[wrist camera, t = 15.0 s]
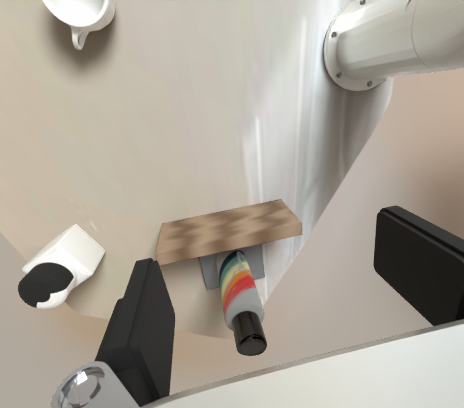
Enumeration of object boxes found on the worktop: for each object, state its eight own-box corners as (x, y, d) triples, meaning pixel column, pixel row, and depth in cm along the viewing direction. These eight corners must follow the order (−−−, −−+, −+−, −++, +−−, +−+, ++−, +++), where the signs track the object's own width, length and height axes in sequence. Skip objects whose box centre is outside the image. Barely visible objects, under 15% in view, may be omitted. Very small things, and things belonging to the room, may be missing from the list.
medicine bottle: (44, 245, 45) (-4, 293, 34) (76, 222, 44) (37, 263, 33) (77, 271, 48) (42, 323, 37) (107, 250, 47) (80, 297, 36)
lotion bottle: (249, 249, 50) (282, 336, 32) (238, 273, 52) (263, 368, 33) (222, 241, 49) (240, 328, 30) (211, 266, 50) (222, 362, 32)
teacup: (58, -47, 31) (33, -75, 26) (124, -24, 33) (112, -46, 28) (56, 44, 35) (33, 35, 30) (117, 61, 36) (105, 56, 32)
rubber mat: (256, 223, 49) (257, 225, 48) (263, 274, 54) (264, 276, 53) (194, 236, 48) (194, 238, 48) (207, 287, 53) (207, 289, 52)
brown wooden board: (280, 199, 48) (301, 222, 39) (281, 209, 49) (302, 234, 40) (162, 223, 46) (154, 254, 37) (165, 233, 47) (158, 265, 38)
